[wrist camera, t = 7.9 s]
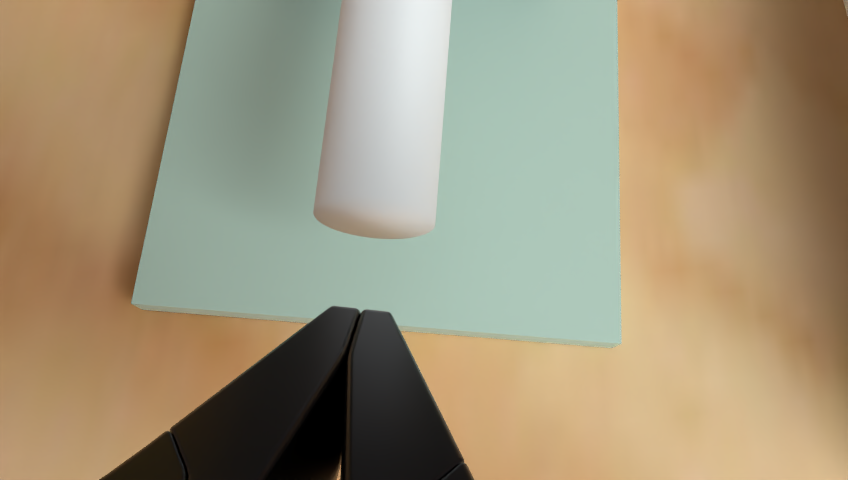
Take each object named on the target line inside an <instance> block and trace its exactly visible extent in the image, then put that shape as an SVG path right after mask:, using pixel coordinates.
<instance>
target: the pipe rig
mask: <svg viewBox="0 0 848 480" xmlns="http://www.w3.org/2000/svg"><path fill="white" fill-rule="evenodd" d="M131 304H133V305H135V306H136V307H138V308H140V309H142V310H153V311H165V312H177V313H189V314H201V315H214V316H226V317H238V318H250V319H263V320H275V321H287V322H299V323H309V322H311V321H312V320H313V319H315V318H316V317H317V316H319V315H320V314H321V313H323V312H324V311H325V310H326V309H328V308H329V307H331V306H340V307H350V308H356V309H358V310H359V311H360V313H361V312H362V311H363V310H366V309H369V310H378V311H387V312H390V313H391V314H392V316H393V317H394V319H395V321H396V323H397V325H398V328H399V330H400V331H409V332H422V333H434V334H446V335H458V336H470V337H483V338H495V339H507V340H519V341H532V342H544V343H556V344H568V345H581V346H593V347H605V348H613V347H615V346H618V345H620V344H621V275H620V193H619V112H618V31H617V0H195V4H194V9H193V14H192V19H191V23H190V28H189V33H188V37H187V42H186V47H185V52H184V56H183V61H182V66H181V70H180V75H179V80H178V85H177V89H176V94H175V99H174V103H173V108H172V113H171V117H170V122H169V127H168V132H167V136H166V141H165V146H164V150H163V155H162V160H161V165H160V169H159V174H158V179H157V183H156V188H155V193H154V198H153V202H152V207H151V212H150V216H149V221H148V226H147V231H146V235H145V240H144V245H143V249H142V254H141V259H140V264H139V268H138V273H137V278H136V282H135V287H134V292H133V297H132V301H131Z"/></svg>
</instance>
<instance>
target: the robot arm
mask: <svg viewBox="0 0 848 480" xmlns="http://www.w3.org/2000/svg"><path fill="white" fill-rule="evenodd" d="M340 464H341V478H340V480H474V478H473V476H472V474H471V472H470V470H469V468H468V466H467V465H466V464H465V463H464V459H463V457H462V455H461V453H460V451H459V449H458V447H457V445H456V443H455V441H454V439H453V437H452V435H451V433H450V431H449V428H448V426H447V424H446V422H445V420H444V418H443V416H442V414H441V412H440V410H439V408H438V406H437V404H436V402H435V400H434V398H433V396H432V394H431V392H430V390H429V388H428V386H427V384H426V382H425V380H424V378H423V376H422V374H421V372H420V370H419V368H418V366H417V364H416V362H415V360H414V358H413V356H412V354H411V352H410V350H409V348H408V346H407V344H406V342H405V340H404V338H403V336H402V334H401V332H400V330H399V328H398V325H397V323H396V321H395V319H394V317H393V316H392V314H391V313H390V312H387V311H378V310H369V309H366V310H363V311H362V312H361V313H360V311H359V310H358V309H356V308H350V307H340V306H331V307H329V308H328V309H326V310H325V311H324V312H323V313H321V314H320V315H319V316H317V317H316V318H315V319H313V320H312V321H311V322H309V323H308V324H307V325H305V326H304V327H303V328H301V329H300V330H299V331H298V332H296V333H295V334H294V335H292V336H291V337H290V338H288V339H287V340H286V341H284V342H283V343H282V344H280V345H279V346H278V347H276V348H275V349H274V350H273V351H271V352H270V353H269V354H267V355H266V356H265V357H263V358H262V359H261V360H259V361H258V362H257V363H255V364H254V365H253V366H251V367H250V368H249V369H247V370H246V371H245V372H244V373H242V374H241V375H240V376H238V377H237V378H236V379H234V380H233V381H232V382H230V383H229V384H228V385H226V386H225V387H224V388H222V389H221V390H220V391H219V392H217V393H216V394H215V395H213V396H212V397H211V398H209V399H208V400H207V401H205V402H204V403H203V404H201V405H200V406H199V407H197V408H196V409H195V410H194V411H192V412H191V413H190V414H188V415H187V416H186V417H184V418H183V419H182V420H180V421H179V422H178V423H176V424H175V425H174V426H172V427H171V429H170V432H169V431H166V432H164V433H163V434H162V435H160V436H159V437H158V438H156V439H155V440H154V441H152V442H151V443H150V444H148V445H147V446H146V447H144V448H143V449H142V450H140V451H139V452H138V453H136V454H135V455H133V456H132V457H131V458H129V459H128V460H126V461H125V462H124V463H122V464H121V465H119V466H118V467H117V468H115V469H114V470H113V471H111V472H110V473H108V474H107V475H105V476H104V477H102V478H101V479H99V480H336V479H337V476H338V472H339V469H340Z"/></svg>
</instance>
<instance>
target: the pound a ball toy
mask: <svg viewBox="0 0 848 480" xmlns="http://www.w3.org/2000/svg"><path fill="white" fill-rule="evenodd" d="M843 2H844V6H845V10H846V13H847V17H848V0H843Z"/></svg>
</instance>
